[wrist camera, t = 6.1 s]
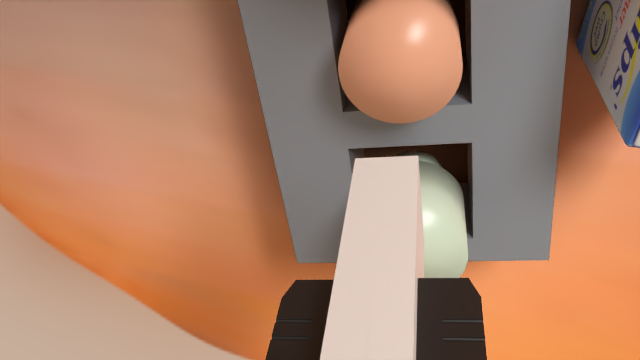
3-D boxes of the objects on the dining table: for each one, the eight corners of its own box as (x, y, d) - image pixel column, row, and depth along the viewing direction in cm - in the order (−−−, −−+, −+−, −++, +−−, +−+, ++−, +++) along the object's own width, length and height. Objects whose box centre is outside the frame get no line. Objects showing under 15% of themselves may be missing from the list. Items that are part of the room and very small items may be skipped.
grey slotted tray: (216, -274, 22) (174, -279, 18) (569, -346, 19) (601, -366, 16) (311, 208, 34) (297, 263, 31) (535, 201, 32) (548, 260, 28)
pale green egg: (361, 138, 28) (348, 213, 23) (460, 132, 27) (467, 210, 22) (371, 214, 30) (361, 295, 26) (462, 211, 29) (468, 295, 25)
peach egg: (347, -32, 25) (330, 16, 21) (455, -44, 24) (461, 3, 20) (359, 65, 28) (346, 126, 23) (457, 58, 27) (463, 119, 22)
